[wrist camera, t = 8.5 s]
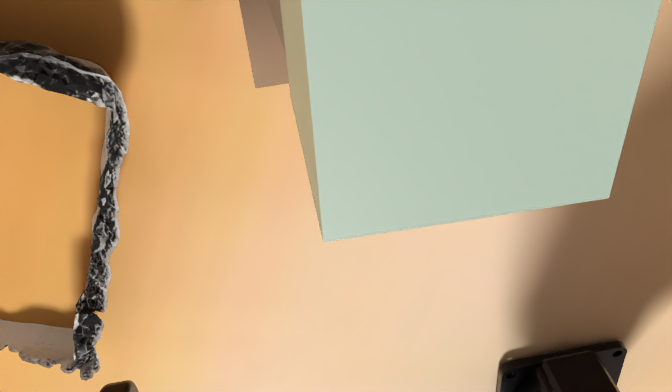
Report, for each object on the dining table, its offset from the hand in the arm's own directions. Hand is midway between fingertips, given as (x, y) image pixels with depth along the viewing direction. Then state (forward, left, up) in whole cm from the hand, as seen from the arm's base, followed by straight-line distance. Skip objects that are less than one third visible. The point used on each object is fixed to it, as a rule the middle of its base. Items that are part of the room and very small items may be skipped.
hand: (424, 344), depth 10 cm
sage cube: (+3, -1, -7) cm, 8 cm away
